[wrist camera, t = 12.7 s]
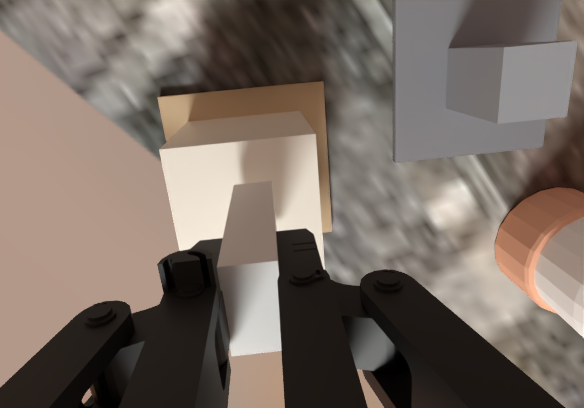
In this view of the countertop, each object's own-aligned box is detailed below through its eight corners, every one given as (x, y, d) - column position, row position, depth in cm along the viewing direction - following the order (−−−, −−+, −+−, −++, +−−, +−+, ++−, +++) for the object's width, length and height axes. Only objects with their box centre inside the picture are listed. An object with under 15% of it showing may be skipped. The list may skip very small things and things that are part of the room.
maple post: (159, 96, 23) (127, 111, 17) (322, 81, 23) (342, 90, 17) (188, 244, 26) (168, 297, 20) (330, 228, 26) (350, 276, 21)
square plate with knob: (392, -5, 22) (438, -25, 16) (557, -20, 22) (658, -44, 17) (392, 160, 25) (431, 192, 19) (537, 145, 25) (616, 172, 20)
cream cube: (187, 121, 23) (158, 149, 16) (299, 110, 23) (315, 133, 16) (205, 224, 25) (186, 286, 18) (307, 213, 25) (324, 270, 19)
